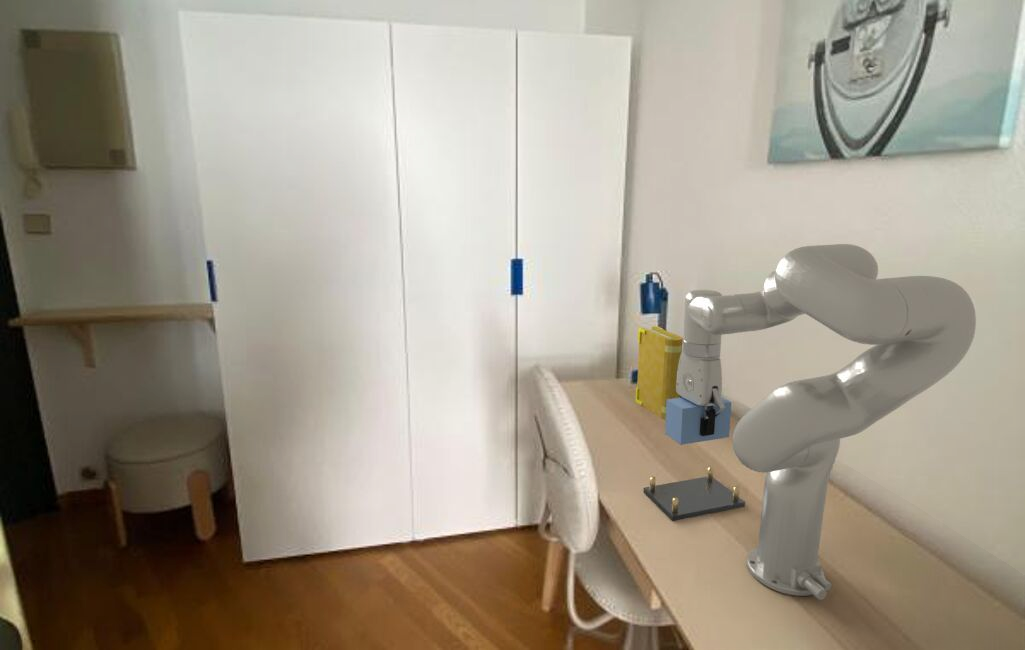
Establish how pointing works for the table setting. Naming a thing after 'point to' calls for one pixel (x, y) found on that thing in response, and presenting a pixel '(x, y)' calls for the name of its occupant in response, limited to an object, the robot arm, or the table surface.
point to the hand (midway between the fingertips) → (697, 428)
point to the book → (657, 368)
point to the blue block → (693, 421)
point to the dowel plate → (693, 497)
